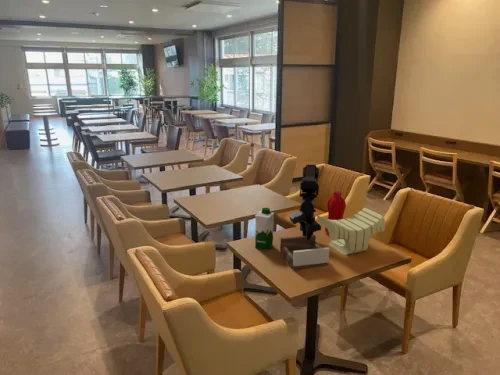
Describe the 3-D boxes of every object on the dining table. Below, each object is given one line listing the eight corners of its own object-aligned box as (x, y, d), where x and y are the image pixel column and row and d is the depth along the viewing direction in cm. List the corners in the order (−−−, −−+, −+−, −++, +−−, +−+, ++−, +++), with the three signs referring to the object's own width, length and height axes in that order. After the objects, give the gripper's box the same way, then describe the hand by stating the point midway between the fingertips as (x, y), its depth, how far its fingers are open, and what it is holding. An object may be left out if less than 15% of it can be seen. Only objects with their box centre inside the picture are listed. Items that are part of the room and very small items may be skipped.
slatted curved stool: (333, 260, 183) (336, 226, 178) (315, 247, 197) (317, 215, 192) (382, 249, 194) (386, 217, 189) (361, 238, 208) (364, 207, 203)
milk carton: (274, 244, 199) (275, 208, 194) (268, 251, 191) (269, 214, 186) (259, 241, 203) (259, 206, 197) (252, 248, 195) (253, 211, 189)
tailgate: (292, 264, 174) (293, 250, 172) (327, 261, 177) (328, 247, 176) (293, 266, 172) (294, 252, 170) (328, 262, 176) (329, 248, 174)
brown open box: (280, 252, 190) (280, 238, 188) (313, 249, 194) (314, 234, 192) (291, 268, 174) (292, 252, 172) (327, 264, 178) (328, 248, 176)
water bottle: (331, 239, 206) (334, 195, 199) (323, 231, 216) (325, 189, 209) (347, 237, 208) (350, 194, 201) (337, 230, 218) (341, 188, 211)
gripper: (284, 201, 181) (283, 231, 185) (298, 214, 163) (297, 247, 168) (306, 199, 183) (305, 229, 188) (322, 212, 166) (320, 245, 170)
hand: (306, 237), depth 178 cm, fingers open, 4 cm apart
